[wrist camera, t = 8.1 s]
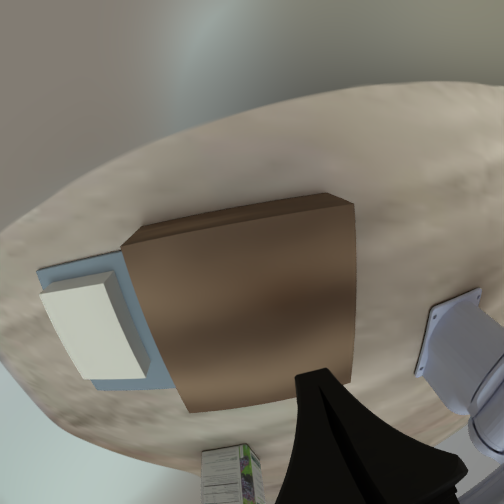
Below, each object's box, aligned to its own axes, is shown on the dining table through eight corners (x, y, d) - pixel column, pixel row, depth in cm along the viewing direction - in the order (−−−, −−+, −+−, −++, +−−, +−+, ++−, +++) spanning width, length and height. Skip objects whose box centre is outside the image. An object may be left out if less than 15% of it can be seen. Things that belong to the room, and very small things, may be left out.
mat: (189, 383, 21) (189, 386, 21) (98, 387, 21) (97, 390, 21) (139, 246, 17) (137, 248, 17) (38, 269, 17) (35, 271, 16)
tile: (83, 379, 18) (91, 364, 19) (145, 378, 18) (150, 361, 20) (38, 294, 15) (51, 282, 17) (103, 283, 15) (114, 270, 17)
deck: (333, 350, 22) (350, 382, 18) (192, 377, 21) (189, 413, 17) (326, 192, 17) (354, 203, 13) (141, 226, 17) (120, 246, 13)
